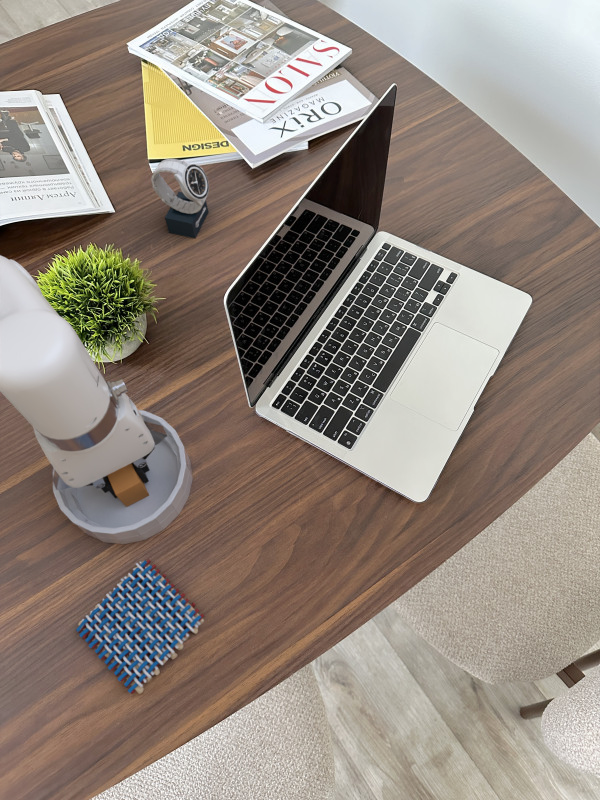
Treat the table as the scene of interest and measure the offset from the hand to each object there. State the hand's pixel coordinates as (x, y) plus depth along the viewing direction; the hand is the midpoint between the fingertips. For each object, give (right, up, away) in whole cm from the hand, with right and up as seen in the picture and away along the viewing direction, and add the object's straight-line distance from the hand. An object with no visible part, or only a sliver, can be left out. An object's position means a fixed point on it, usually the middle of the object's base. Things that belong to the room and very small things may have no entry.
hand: (127, 479), depth 76 cm
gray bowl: (0, -1, +1) cm, 1 cm away
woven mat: (+4, -15, -7) cm, 17 cm away
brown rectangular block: (0, 0, 0) cm, 1 cm away
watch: (+4, +37, +21) cm, 42 cm away
